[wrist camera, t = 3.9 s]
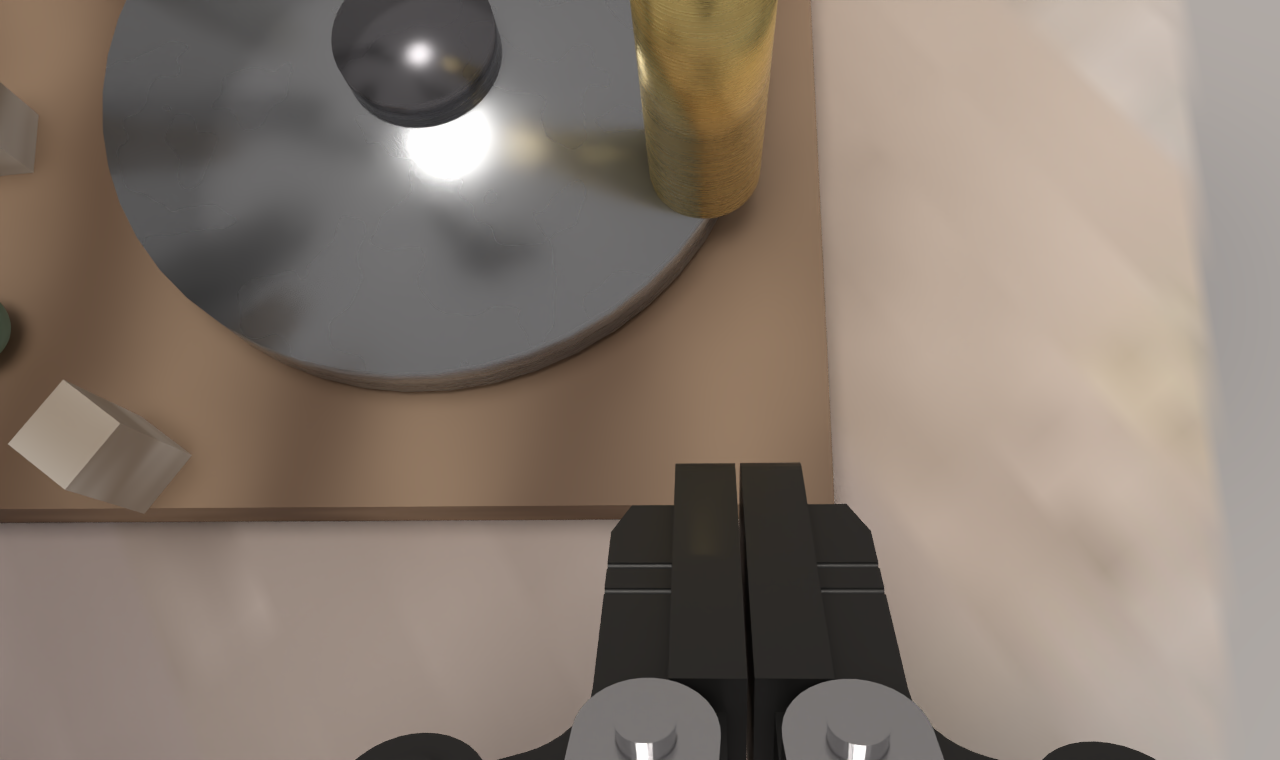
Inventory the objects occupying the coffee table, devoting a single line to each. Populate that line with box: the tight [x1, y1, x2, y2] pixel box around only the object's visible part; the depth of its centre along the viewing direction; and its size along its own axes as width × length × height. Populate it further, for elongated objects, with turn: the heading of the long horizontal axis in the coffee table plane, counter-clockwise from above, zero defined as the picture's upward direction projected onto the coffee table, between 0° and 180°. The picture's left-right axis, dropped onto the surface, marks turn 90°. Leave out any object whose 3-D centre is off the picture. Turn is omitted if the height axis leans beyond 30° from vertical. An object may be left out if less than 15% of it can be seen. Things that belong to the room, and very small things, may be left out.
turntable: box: [0, 0, 834, 523], centre depth 25 cm, size 22×20×5 cm
